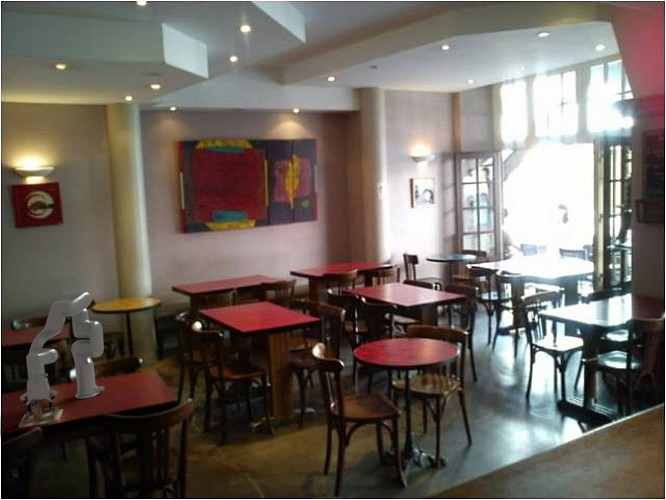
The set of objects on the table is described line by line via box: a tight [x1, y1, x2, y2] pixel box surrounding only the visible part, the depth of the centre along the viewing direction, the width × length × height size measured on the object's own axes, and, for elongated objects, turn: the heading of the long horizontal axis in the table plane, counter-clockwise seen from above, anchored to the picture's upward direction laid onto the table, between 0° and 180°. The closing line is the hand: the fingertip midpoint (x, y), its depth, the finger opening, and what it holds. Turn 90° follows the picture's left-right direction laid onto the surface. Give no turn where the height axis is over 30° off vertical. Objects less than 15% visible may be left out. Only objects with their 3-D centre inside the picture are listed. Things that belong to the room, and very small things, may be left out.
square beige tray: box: [18, 406, 64, 429], centre depth 308 cm, size 18×16×3 cm
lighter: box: [30, 399, 43, 418], centre depth 305 cm, size 8×3×10 cm, turn 9°
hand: (40, 410), depth 307 cm, fingers open, 9 cm apart
